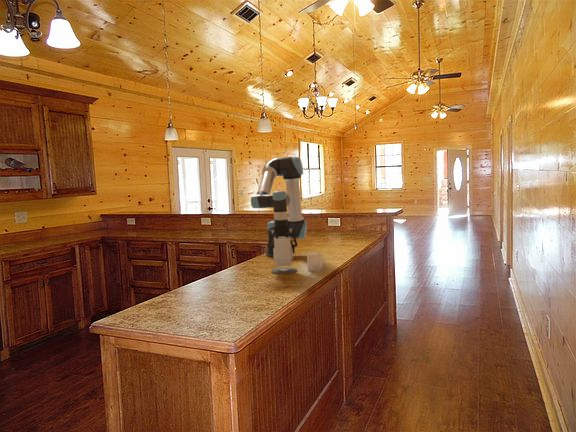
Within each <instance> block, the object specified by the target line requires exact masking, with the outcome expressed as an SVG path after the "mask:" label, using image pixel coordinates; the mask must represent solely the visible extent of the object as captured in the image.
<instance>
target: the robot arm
mask: <svg viewBox="0 0 576 432" xmlns="http://www.w3.org/2000/svg"><path fill="white" fill-rule="evenodd" d="M261 171H262V172H261V180H260V182H259V187H258V190H257V193H256V194H254V195H252V196H251V198H250V205H251V208H253V209H270V208H271V209H273V219H274V220H271V221H269V222H267V225H266V231H267V247H266V251H265V255H266V256H267V257H273V261H274V262H275V249H274V238H278V237H287V238H289V236H290V242H291V261H293V260H294V254H295V252H296V250H295V248H296V247H298V246H299V245H298V242H297V239H298V240H299V239H304V238H306V235H307V228H308V220H305V217H304V216H303V214H302V202H301V192H300V191H301V190H300V180H301V178H302V175H304V167H303V163H302V160H301V158H300V157H299V156H287V157H275V158H273V159H270V160H269V161H268V162H267V163H266V164H265V165H264V166H263V168H262V170H261ZM277 177H282V178H283V180H284V181H285V188H286V191H285V190H278V191H277V190H276V191H275V190H274V191H273V192H272V188H273V184H274V180H275V179H276V178H277ZM271 192H272V194H271ZM292 239H293V241H292ZM293 242H294V243H293Z"/></svg>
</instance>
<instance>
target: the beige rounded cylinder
mask: <svg viewBox="0 0 576 432" xmlns="http://www.w3.org/2000/svg"><path fill="white" fill-rule="evenodd" d="M306 258H307V260H306V262H307V272H309V273H320V272H323V270H324V269H323V253H320V252H311V253H307V254H306Z"/></svg>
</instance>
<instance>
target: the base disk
mask: <svg viewBox="0 0 576 432" xmlns="http://www.w3.org/2000/svg"><path fill="white" fill-rule="evenodd" d="M297 271H298V270H297V268H295V267H289V266H285V267H279V268H278V267H277V268H273V269H272V270H271V273H272V274H274V275H289V274H294V273H296V272H297Z"/></svg>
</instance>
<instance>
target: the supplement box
mask: <svg viewBox="0 0 576 432" xmlns="http://www.w3.org/2000/svg"><path fill="white" fill-rule="evenodd" d="M290 240H291V239H290V236H289V238H287V237H278V238H274V249H275V261H274V264H275V267H289V266H292V261H293V260H292V259H291V247H292V246H291V242H290Z"/></svg>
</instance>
